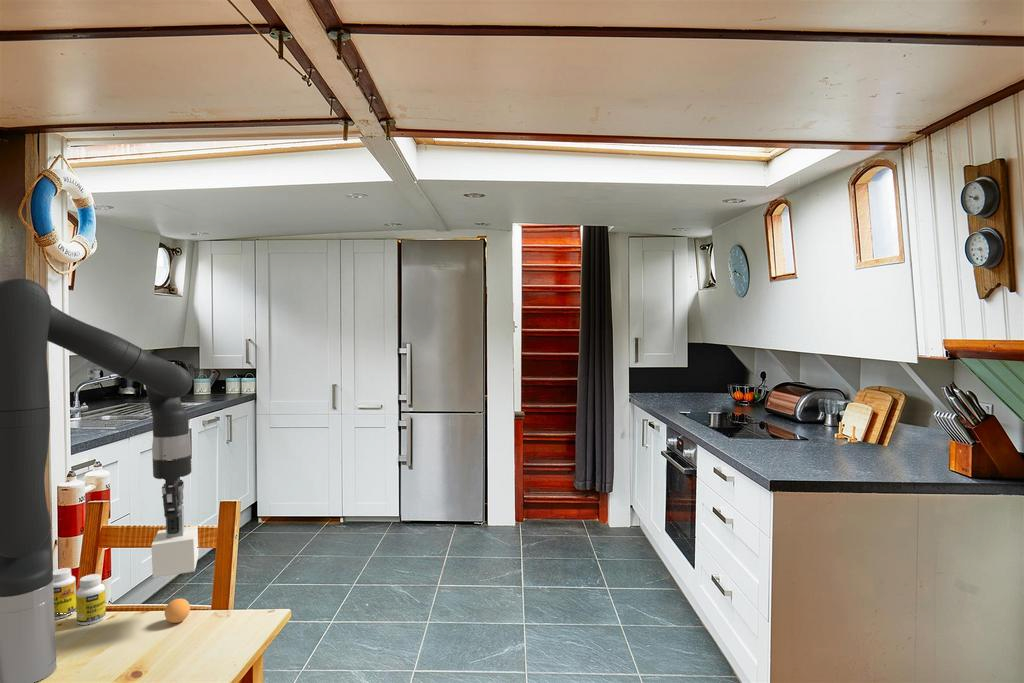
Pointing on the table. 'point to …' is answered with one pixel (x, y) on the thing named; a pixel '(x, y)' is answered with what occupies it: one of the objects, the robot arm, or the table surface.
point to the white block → (175, 549)
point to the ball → (177, 610)
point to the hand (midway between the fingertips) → (174, 530)
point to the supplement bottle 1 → (64, 592)
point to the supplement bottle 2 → (90, 600)
